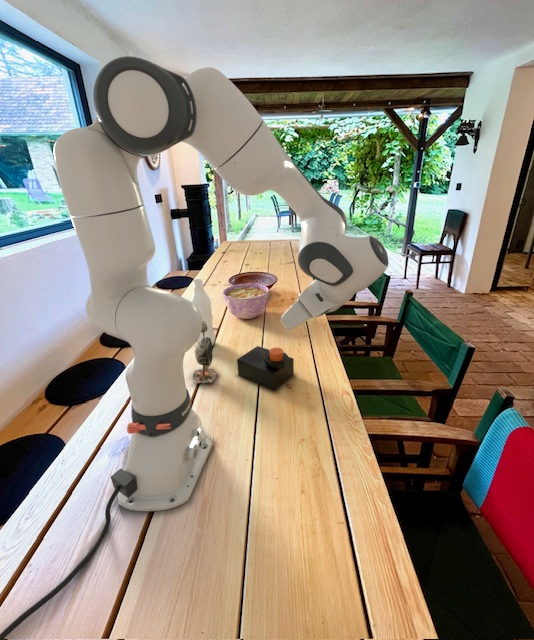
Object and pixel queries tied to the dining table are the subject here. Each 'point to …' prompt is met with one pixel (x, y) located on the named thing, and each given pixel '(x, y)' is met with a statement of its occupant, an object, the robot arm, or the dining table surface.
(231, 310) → the bowl of food
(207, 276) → the dining table surface
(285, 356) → the black button box
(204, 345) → the plant with pod
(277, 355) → the round orange button
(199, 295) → the water bottle
